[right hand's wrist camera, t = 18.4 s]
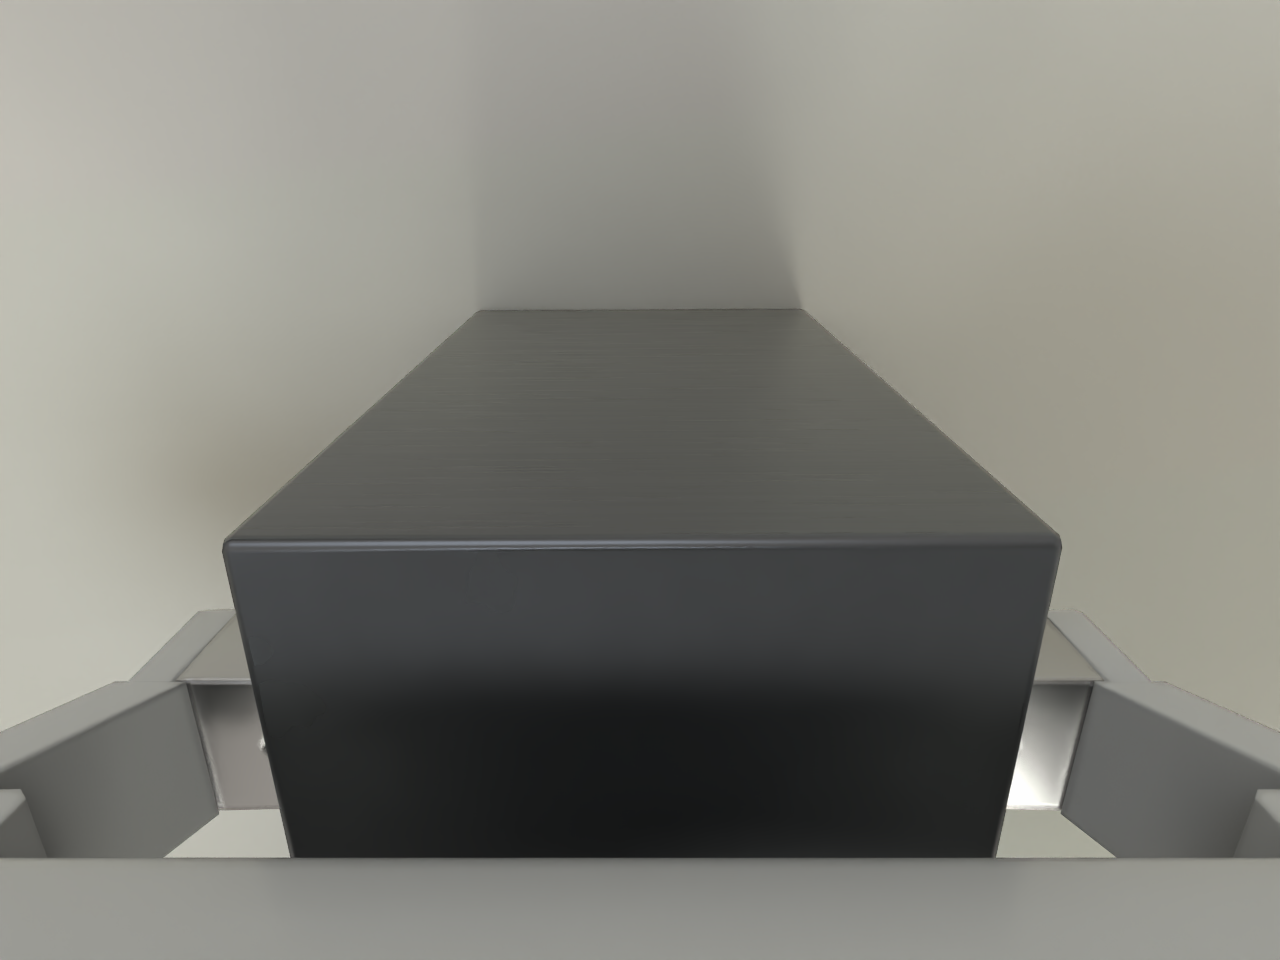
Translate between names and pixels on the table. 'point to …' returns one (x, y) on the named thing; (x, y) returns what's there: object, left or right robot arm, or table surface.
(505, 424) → the box
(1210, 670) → the table surface
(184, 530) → the table surface
